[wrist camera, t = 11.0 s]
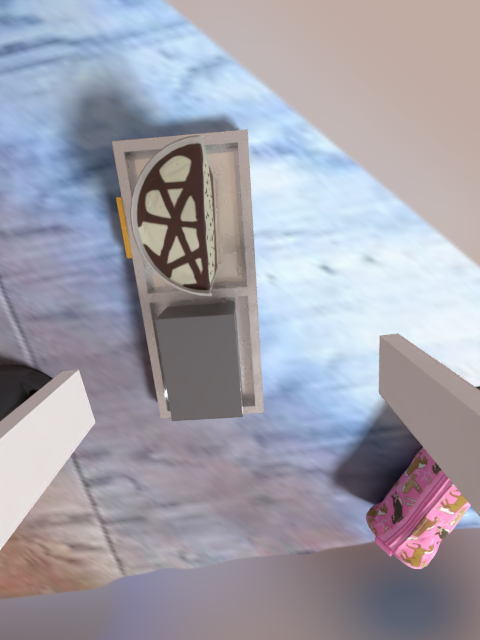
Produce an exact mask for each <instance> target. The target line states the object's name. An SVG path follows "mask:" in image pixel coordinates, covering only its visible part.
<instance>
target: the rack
mask: <svg viewBox="0 0 480 640" xmlns="http://www.w3.org/2000/svg"><path fill="white" fill-rule="evenodd" d="M195 135H203V136H204V138H202V141H203V144H204V147H205V149H206V152H207V155H208V158H209V161H210V164H211V167H212V169H213V172H214V179H215V202H216V224H217V246H218V270H217V273H216V276H215V279H214V283H213V286H212V289H211V292H210V294H212V296H201V295H195V294H191V293H187V292H184V291H182V290H179V289H177V288H175V287H173V286H172V285H170V284H168V283H167V282H165V281H164V280H163V279H161V278H160V277H159V276H158V275H157V274H156V273H155V272H154V271H153V270H152V269H151V268H150V267H149V265H148V264H147V263H146V261H145V260H144V258H143V257H142V255H141V253H140V251H139V249H138V247H137V245H136V242H135V239H134V236H133V231H132V226H131V216H130V208H131V198H132V194H133V190H134V187H135V184H136V182H137V179H138V177H139V175H140V173H141V171H142V170H143V168H144V167H145V165H146V164H147V162H148V161H149V160H150V159H151V158H152V157H153V156H154V155H155V154H156V153H157V152H158V151H160V150H161V149H162V148H164V147H165V146H166V145H168V144H170V143H172V142H174V141H176V140H179V139H182V138H185V137H188V136H195ZM112 146H113V151H114V157H115V163H116V168H117V174H118V180H119V185H120V191H121V197H117V198H116V201H117V206H118V212H119V217H120V223H121V228H122V234H123V239H124V245H125V250H126V256H127V258H132V259H133V264H134V270H135V276H136V281H137V287H138V293H139V298H140V304H141V310H142V315H143V321H144V327H145V332H146V338H147V344H148V349H149V355H150V361H151V366H152V372H153V377H154V383H155V389H156V394H157V400H158V406H159V411H160V417H161V418H171V412H170V406H169V400H168V394H167V388H166V382H165V376H164V370H163V364H162V358H161V352H160V346H159V340H158V333H157V327H156V321H155V319H156V318H157V317H158V316H159V315H160V314H161V313H162V312H163V311H164V310H165V309H166V308H167V307H174V306H188V305H203V304H217V303H232V302H235V304H236V316H237V329H238V341H239V353H240V366H241V378H242V391H243V414H247V413H264V407H263V390H262V373H261V356H260V338H259V321H258V304H257V287H256V269H255V252H254V235H253V218H252V200H251V183H250V166H249V149H248V131H247V130H235V131H224V132H212V133H201V134H189V135H178V136H166V137H155V138H143V139H132V140H120V141H112Z"/></svg>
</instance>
